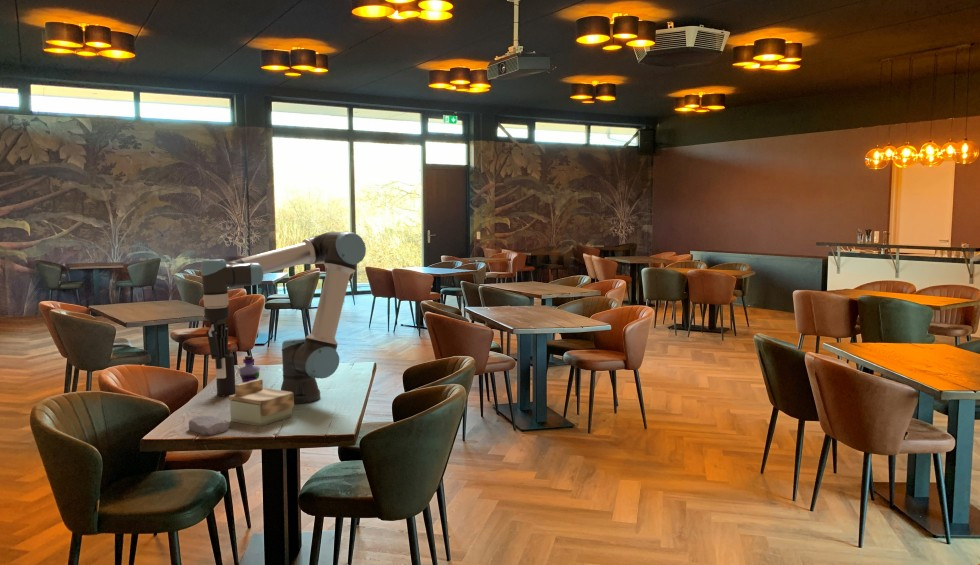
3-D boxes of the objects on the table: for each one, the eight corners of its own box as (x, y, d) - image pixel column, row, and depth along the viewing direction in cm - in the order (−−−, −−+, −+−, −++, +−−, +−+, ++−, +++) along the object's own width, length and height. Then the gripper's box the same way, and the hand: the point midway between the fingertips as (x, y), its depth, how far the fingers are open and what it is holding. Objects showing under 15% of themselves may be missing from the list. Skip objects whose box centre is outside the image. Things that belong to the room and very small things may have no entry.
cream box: (263, 411, 252) (262, 391, 252) (291, 416, 246) (291, 396, 245) (230, 420, 240) (230, 400, 240) (260, 426, 233) (259, 405, 233)
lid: (261, 401, 252) (260, 377, 252) (295, 406, 244) (294, 382, 244) (229, 410, 240) (228, 385, 240) (263, 416, 232) (262, 390, 232)
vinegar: (218, 393, 280) (215, 342, 279) (236, 391, 282) (234, 341, 280) (216, 397, 274) (213, 345, 272) (234, 395, 275) (232, 344, 274)
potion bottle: (258, 386, 291) (257, 357, 290) (236, 387, 289) (235, 358, 288) (262, 382, 299) (261, 353, 298) (240, 382, 298) (239, 354, 297)
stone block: (213, 429, 238) (184, 430, 230) (215, 414, 238) (187, 415, 230) (233, 436, 230) (204, 438, 223) (235, 422, 231) (206, 422, 223)
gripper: (213, 304, 239) (218, 373, 241) (196, 309, 226) (201, 382, 228) (235, 303, 239) (240, 373, 241) (219, 309, 226) (224, 382, 228)
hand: (221, 377), depth 235 cm, fingers closed
